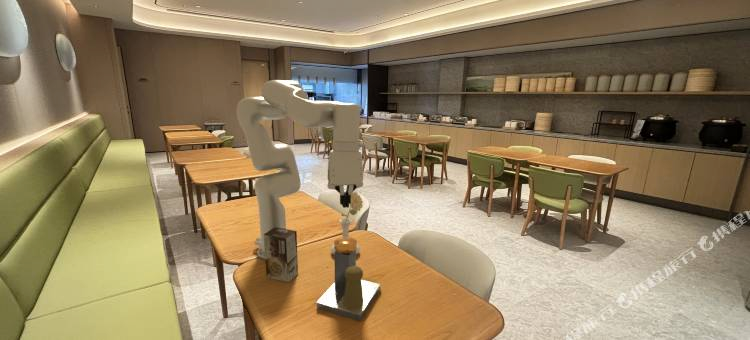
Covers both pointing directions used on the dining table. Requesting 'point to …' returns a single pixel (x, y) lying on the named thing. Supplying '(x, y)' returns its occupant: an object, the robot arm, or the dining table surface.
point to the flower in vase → (345, 222)
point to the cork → (353, 288)
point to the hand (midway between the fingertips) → (345, 206)
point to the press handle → (345, 245)
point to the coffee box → (281, 254)
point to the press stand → (335, 293)
